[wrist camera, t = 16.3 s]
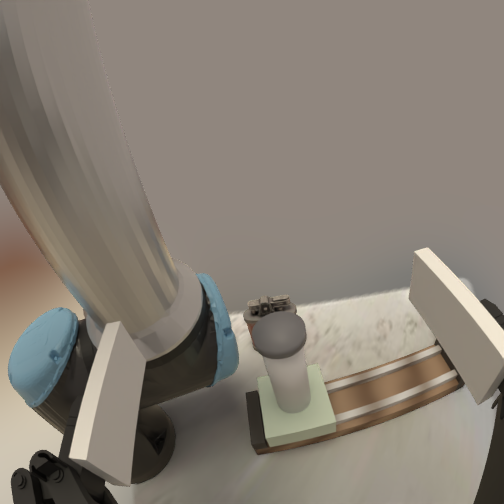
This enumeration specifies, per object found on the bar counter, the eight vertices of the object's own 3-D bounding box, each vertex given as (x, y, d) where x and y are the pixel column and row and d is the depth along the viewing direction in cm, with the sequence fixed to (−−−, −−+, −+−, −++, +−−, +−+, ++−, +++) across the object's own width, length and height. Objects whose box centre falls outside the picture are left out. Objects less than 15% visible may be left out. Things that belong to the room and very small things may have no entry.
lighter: (253, 354, 49) (238, 310, 43) (253, 339, 51) (239, 295, 46) (302, 347, 48) (295, 302, 42) (300, 332, 50) (292, 287, 45)
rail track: (258, 454, 33) (251, 444, 31) (251, 406, 40) (245, 392, 38) (463, 386, 32) (471, 370, 30) (439, 349, 39) (445, 332, 37)
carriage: (270, 447, 31) (237, 379, 23) (261, 389, 39) (231, 307, 31) (336, 431, 31) (336, 356, 23) (319, 375, 38) (309, 288, 30)
